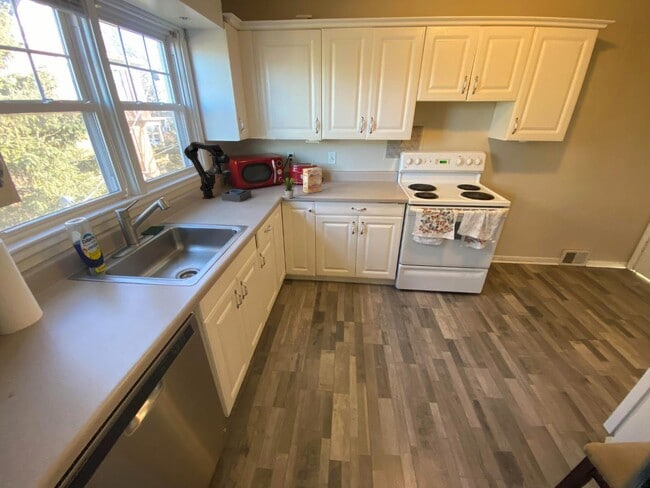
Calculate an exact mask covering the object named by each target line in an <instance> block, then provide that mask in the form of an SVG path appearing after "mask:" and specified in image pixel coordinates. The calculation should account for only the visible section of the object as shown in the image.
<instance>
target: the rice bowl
mask: <svg viewBox="0 0 650 488" xmlns="http://www.w3.org/2000/svg"><path fill="white" fill-rule="evenodd" d="M231 190H232V189H231ZM243 190H244V189H240V190H232V191H230V190H229V191H230V194H234V195H241V194H243Z"/></svg>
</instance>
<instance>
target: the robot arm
mask: <svg viewBox="0 0 650 488" xmlns="http://www.w3.org/2000/svg"><path fill="white" fill-rule="evenodd" d="M199 150H204V151H207V152H208V153H209V157H211V162H212V164H211V165H210V166H211V167H209V169H206V170H205V168H204V166H203V165H202V163H201V161H200V160H199V153H198V152H199ZM183 154H184V155H185V156H186V158H187V159H188V160H190V161H191V163H192V165H193V167H194V169H195V171H196V172H197V174H198V175H199V178H200V184H201V185H200V187H199V190H200V191H201V192H202V195H203V197H202V199H206V200H207V199H208V200H210V199H213V198H215V195H214V192H213V190H214V188H215V184H216V175H222V176H221V177H222V178H223V184H224V186H226V185H227V182H228V180H229V177H230V176H232V172H231V170H224V169H223V168H222V166H223V164H225V165H228V164H230V161H231V159H230V156H229V155H228V153H225V152H224V151H223V149H222V147H221V146H220V144H218V143H213V144H209V143H204V142H199V141H192V142H190V144H189V145H187V146H186V148H185V149H184V150H183Z"/></svg>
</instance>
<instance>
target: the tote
mask: <svg viewBox="0 0 650 488" xmlns="http://www.w3.org/2000/svg"><path fill="white" fill-rule="evenodd" d="M232 190H241V189H237V188H232V189H229V190H227V191H224V192H222V193H221V198H222V199H221V200H222V201H229V202H238V203H241V202H244V201H246V200H247V199H250V198H252V191H251V190H248V189H242V190H243V194H241V195H234V194H230V191H232Z"/></svg>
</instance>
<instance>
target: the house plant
mask: <svg viewBox="0 0 650 488" xmlns="http://www.w3.org/2000/svg"><path fill="white" fill-rule="evenodd" d="M282 182H283V184H282V186H283V187H284V194H285V195H284V196H285V198H286V199H287V200H289V199H293V198H294V189H295V188H296V186H297V185H298V181H297V179H296V180H295V178H293V177H291V178H290V179H289V178H288V177H286V178H285V179H282ZM293 188H294V189H293Z"/></svg>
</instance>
